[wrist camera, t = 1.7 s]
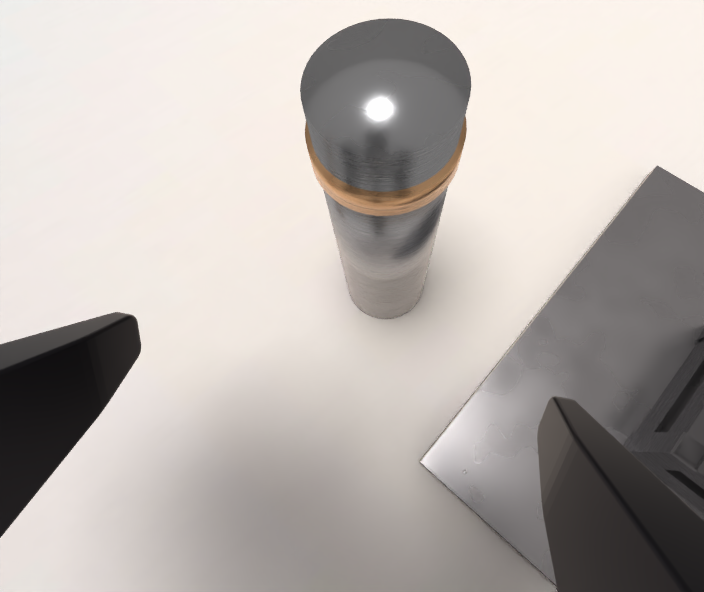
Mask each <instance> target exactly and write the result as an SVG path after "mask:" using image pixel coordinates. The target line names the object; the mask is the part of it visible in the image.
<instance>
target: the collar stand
mask: <svg viewBox="0 0 704 592" xmlns="http://www.w3.org/2000/svg"><path fill="white" fill-rule="evenodd" d="M553 396H558V397H563V398H569V399H573V400H575V401H576V402H577V403H578V404H579V405H580V406H581V407H582V408H584V409H585V410H586V411H587V412H588V413H589V414H590V415H591V416H592V417H593V418H594V419H595V420H596V421H598V422H599V423H600V424H601V425H602V426H603V427H604V428H605V429H606V430H607V431H608V432H609V433H610V434H612V435H613V436H614V437H615V438H616V439H617V440H618V441H619V442H620V443H621V444H622V445H623V446H624V447H626V448H627V449H628V450H629V451H630V452H631V453H632V454H633V455H634V456H635V457H636V458H637V459H638V460H640V461H641V462H642V463H643V464H644V465H645V466H646V467H647V468H648V469H649V470H650V471H651V472H652V473H654V474H655V475H656V476H657V477H658V478H659V479H660V480H661V481H662V482H663V483H664V484H665V485H666V486H667V487H669V488H670V489H671V490H672V491H673V492H674V493H675V494H676V495H677V496H678V497H679V498H680V499H681V500H683V501H684V502H685V503H686V504H687V505H688V506H689V507H690V508H691V509H692V510H693V511H694V512H695V513H697V514H698V515H699V516H700V517H701V518H702V519H703V520H704V193H703V192H702V191H700V190H698V189H697V188H695V187H693V186H691V185H690V184H688V183H686V182H685V181H683V180H681V179H679V178H678V177H676V176H674V175H673V174H671V173H669V172H668V171H666V170H664V169H662V168H661V167H659V166H656V167H655V168H654V169H653V170H652V171H651V172H650V173H649V174H648V176H647V177H646V178H645V179H644V181H643V182H642V183H641V184H640V186H639V187H638V188H637V189H636V191H635V192H634V193H633V194H632V196H631V197H630V198H629V199H628V201H627V202H626V203H625V204H624V206H623V207H622V208H621V209H620V211H619V212H618V213H617V214H616V216H615V217H614V218H613V219H612V221H611V222H610V223H609V224H608V226H607V227H606V228H605V229H604V231H603V232H602V233H601V234H600V236H599V237H598V238H597V239H596V241H595V242H594V243H593V244H592V246H591V247H590V248H589V249H588V251H587V252H586V253H585V254H584V256H583V257H582V258H581V259H580V261H579V262H578V263H577V264H576V266H575V267H574V268H573V269H572V271H571V272H570V273H569V274H568V276H567V277H566V278H565V279H564V281H563V282H562V283H561V284H560V286H559V287H558V288H557V289H556V291H555V292H554V293H553V294H552V296H551V297H550V298H549V300H548V301H547V302H546V303H545V305H544V306H543V307H542V308H541V310H540V311H539V312H538V313H537V315H536V316H535V317H534V318H533V320H532V321H531V322H530V323H529V325H528V326H527V327H526V328H525V330H524V331H523V332H522V333H521V335H520V336H519V337H518V338H517V340H516V341H515V342H514V343H513V345H512V346H511V347H510V348H509V350H508V351H507V352H506V353H505V355H504V356H503V357H502V358H501V360H500V361H499V362H498V363H497V365H496V366H495V367H494V368H493V370H492V371H491V372H490V373H489V375H488V376H487V377H486V378H485V380H484V381H483V382H482V383H481V385H480V386H479V387H478V388H477V390H476V391H475V392H474V393H473V395H472V396H471V397H470V398H469V400H468V401H467V402H466V403H465V405H464V406H463V407H462V408H461V410H460V411H459V412H458V413H457V415H456V416H455V417H454V418H453V420H452V421H451V422H450V423H449V425H448V426H447V427H446V428H445V430H444V431H443V432H442V433H441V435H440V436H439V437H438V438H437V440H436V441H435V442H434V443H433V445H432V446H431V447H430V448H429V450H428V451H427V452H426V453H425V455H424V456H423V457H422V458H421V460H420V461H419V462H420V463H421V464H423V465H424V466H425V467H426V468H427V469H428V470H429V471H430V472H431V473H433V474H434V475H435V476H436V477H437V478H438V479H439V480H440V481H441V482H442V483H444V484H445V485H446V486H447V487H448V488H449V489H450V490H451V491H452V492H453V493H455V494H456V495H457V496H458V497H459V498H460V499H461V500H462V501H463V502H465V503H466V504H467V505H468V506H469V507H470V508H471V509H472V510H473V511H474V512H476V513H477V514H478V515H479V516H480V517H481V518H482V519H483V520H484V521H485V522H487V523H488V524H489V525H490V526H491V527H492V528H493V529H494V530H495V531H496V532H498V533H499V534H500V535H501V536H502V537H503V538H504V539H505V540H506V541H508V542H509V543H510V544H511V545H512V546H513V547H514V548H515V549H516V550H517V551H519V552H520V553H521V554H522V555H523V556H524V557H525V558H526V559H527V560H528V561H530V562H531V563H532V564H533V565H534V566H535V567H536V568H537V569H538V570H540V571H541V572H542V573H543V574H544V575H545V576H546V577H547V578H548V579H549V580H551V581H552V582H553V583H554V584H555V585H556V581H555V575H554V570H553V565H552V560H551V554H550V549H549V544H548V539H547V533H546V528H545V523H544V517H543V511H542V501H541V488H540V473H539V459H538V444H537V431H538V426H539V424H540V421H541V419H542V416H543V413H544V411H545V408H546V406H547V403H548V401H549V399H550V398H551V397H553Z"/></svg>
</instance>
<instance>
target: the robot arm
mask: <svg viewBox="0 0 704 592" xmlns="http://www.w3.org/2000/svg"><path fill="white" fill-rule="evenodd" d="M140 351H141V341H140V335H139V329H138V323H137V319H136V318H135V317H134V316H133V315H130V314H125V313H120V312H115V313H111V314H107V315H104V316H100V317H96V318H93V319H89V320H86V321H82V322H79V323H75V324H71V325H68V326H64V327H61V328H57V329H54V330H50V331H46V332H43V333H39V334H36V335H32V336H29V337H25V338H22V339H18V340H14V341H11V342H7V343H4V344H0V538H1V536H2V535H3V534H4V533H5V531H6V530H7V529H8V528H9V527H10V525H11V524H12V523H13V522H14V520H15V519H16V518H17V517H18V515H19V514H20V513H21V512H22V510H23V509H24V508H25V507H26V505H27V504H28V503H29V502H30V501H31V499H32V498H33V497H34V496H35V494H36V493H37V492H38V491H39V489H40V488H41V487H42V486H43V484H44V483H45V482H46V481H47V479H48V478H49V477H50V476H51V475H52V473H53V472H54V471H55V470H56V468H57V467H58V466H59V465H60V463H61V462H62V461H63V460H64V458H65V457H66V456H67V455H68V453H69V452H70V451H71V450H72V449H73V447H74V446H75V445H76V444H77V442H78V441H79V440H80V439H81V437H82V436H83V435H84V434H85V432H86V431H87V430H88V429H89V428H90V426H91V425H92V424H93V423H94V421H95V420H96V419H97V417H98V416H99V415H100V414H101V412H102V411H103V410H104V408H105V407H106V405H107V404H108V402H109V401H110V399H111V398H112V396H113V395H114V393H115V392H116V390H117V389H118V387H119V386H120V384H121V383H122V381H123V380H124V378H125V376H126V375H127V373H128V372H129V370H130V369H131V367H132V366H133V364H134V363H135V361H136V360H137V358H138V356H139V354H140ZM537 444H538V459H539V473H540V488H541V501H542V511H543V517H544V523H545V528H546V533H547V539H548V544H549V549H550V554H551V560H552V565H553V570H554V575H555V581H556V586H557V591H558V592H704V520H703V519H702V518H701V517H700V516H699V515H698V514H697V513H695V512H694V511H693V510H692V509H691V508H690V507H689V506H688V505H687V504H686V503H685V502H684V501H683V500H681V499H680V498H679V497H678V496H677V495H676V494H675V493H674V492H673V491H672V490H671V489H670V488H669V487H667V486H666V485H665V484H664V483H663V482H662V481H661V480H660V479H659V478H658V477H657V476H656V475H655V474H654V473H652V472H651V471H650V470H649V469H648V468H647V467H646V466H645V465H644V464H643V463H642V462H641V461H640V460H638V459H637V458H636V457H635V456H634V455H633V454H632V453H631V452H630V451H629V450H628V449H627V448H626V447H624V446H623V445H622V444H621V443H620V442H619V441H618V440H617V439H616V438H615V437H614V436H613V435H612V434H610V433H609V432H608V431H607V430H606V429H605V428H604V427H603V426H602V425H601V424H600V423H599V422H598V421H596V420H595V419H594V418H593V417H592V416H591V415H590V414H589V413H588V412H587V411H586V410H585V409H584V408H582V407H581V406H580V405H579V404H578V403H577V402H576V401H575V400H573V399H569V398H563V397H558V396H553V397H551V398H550V399H549V401H548V403H547V406H546V408H545V411H544V413H543V416H542V419H541V421H540V424H539V426H538V431H537Z"/></svg>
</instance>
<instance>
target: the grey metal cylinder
mask: <svg viewBox="0 0 704 592" xmlns="http://www.w3.org/2000/svg"><path fill="white" fill-rule="evenodd" d="M470 91H471V76H470V72H469V68H468V65H467V63H466V60H465V58H464V56H463V55H462V53H461V51H460V50H459V49H458V48H457V47H456V45H455V44H454V43H453V42H452V41H451V40H450V39H448V38H447V37H446V36H444V35H443V34H442V33H440V32H439V31H437V30H435V29H433V28H431V27H429V26H426V25H424V24H421V23H417V22H414V21H409V20H403V19H377V20H370V21H365V22H361V23H358V24H355V25H352V26H350V27H347V28H345V29H343V30H341V31H339V32H338V33H336V34H334V35H333V36H331V37H330V38H329V39H327V40H326V41H325V42H324V43H323V44H322V45H321V46H320V47H319V48H318V49H317V50H316V51H315V52H314V54H313V55H312V56H311V58H310V60H309V61H308V63H307V65H306V67H305V70H304V72H303V76H302V80H301V88H300V92H301V101H302V105H303V109H304V113H305V117H306V126H305V138H306V144H307V148H308V152H309V156H310V160H311V163H312V167H313V171H314V173H315V176H316V178H317V180H318V182H319V183H320V185H321V186H322V188H323V189H324V193H325V197H326V201H327V205H328V209H329V213H330V217H331V221H332V225H333V229H334V233H335V237H336V241H337V245H338V249H339V253H340V257H341V261H342V265H343V269H344V273H345V277H346V281H347V285H348V289H349V293H350V296H351V298H352V300H353V302H354V303H355V305H356V306H357V307H358V308H359V309H360V310H361V311H363V312H364V313H366V314H367V315H370V316H372V317H375V318H380V319H391V318H396V317H399V316H402V315H404V314H405V313H407V312H408V311H410V310H411V309H412V308H413V307H414V306H415V305H416V304H417V302H418V301H419V299H420V296H421V294H422V290H423V286H424V282H425V278H426V274H427V270H428V266H429V262H430V257H431V253H432V249H433V245H434V241H435V237H436V233H437V229H438V225H439V220H440V216H441V212H442V208H443V204H444V200H445V196H446V192H447V188H448V185H449V184H450V182H451V181H452V179H453V178H454V175H455V173H456V171H457V168H458V165H459V161H460V157H461V153H462V150H463V146H464V142H465V138H466V130H467V129H466V117H465V114H466V110H467V105H468V101H469V97H470Z"/></svg>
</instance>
